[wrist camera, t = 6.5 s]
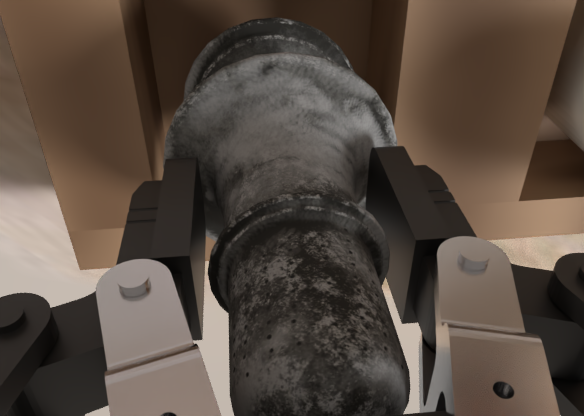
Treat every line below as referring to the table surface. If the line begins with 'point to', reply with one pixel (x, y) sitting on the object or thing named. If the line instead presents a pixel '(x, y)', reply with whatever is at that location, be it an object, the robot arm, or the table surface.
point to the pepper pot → (570, 82)
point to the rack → (366, 63)
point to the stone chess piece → (293, 221)
